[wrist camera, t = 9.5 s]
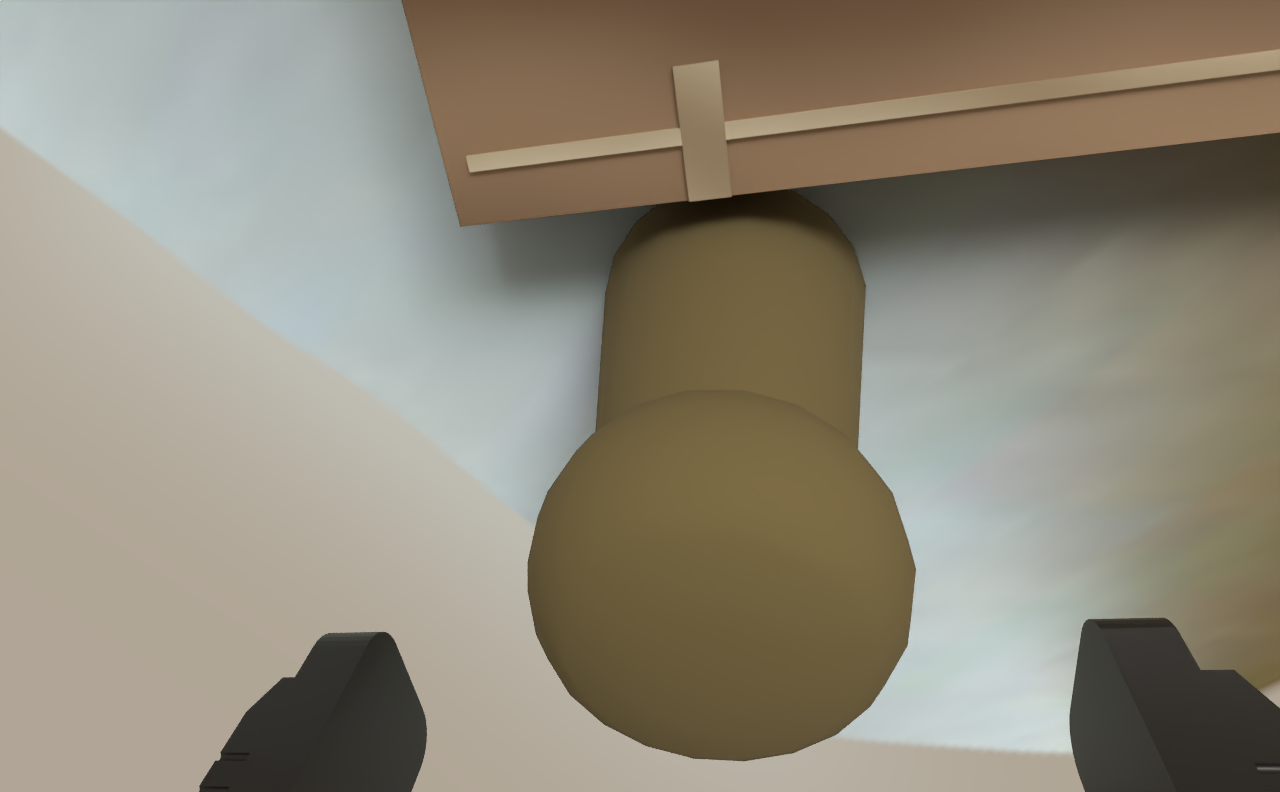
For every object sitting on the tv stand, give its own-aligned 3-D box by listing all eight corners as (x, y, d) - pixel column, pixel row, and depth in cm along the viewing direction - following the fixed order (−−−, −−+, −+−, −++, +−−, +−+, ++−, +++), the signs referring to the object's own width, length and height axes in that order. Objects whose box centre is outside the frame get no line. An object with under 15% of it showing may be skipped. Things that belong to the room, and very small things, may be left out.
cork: (554, 312, 20) (374, 662, 11) (727, 119, 17) (693, 355, 8) (737, 461, 22) (723, 885, 12) (922, 303, 19) (1091, 687, 9)
